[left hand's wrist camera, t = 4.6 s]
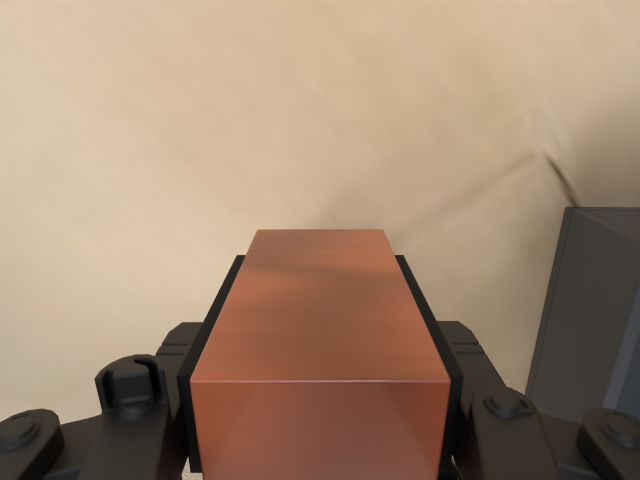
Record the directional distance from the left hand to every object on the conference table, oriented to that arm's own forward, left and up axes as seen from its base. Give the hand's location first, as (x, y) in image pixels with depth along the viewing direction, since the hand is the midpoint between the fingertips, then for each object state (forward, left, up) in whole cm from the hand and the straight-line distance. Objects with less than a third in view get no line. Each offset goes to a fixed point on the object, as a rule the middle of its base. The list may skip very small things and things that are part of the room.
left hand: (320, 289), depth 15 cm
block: (0, 0, 0) cm, 0 cm away
